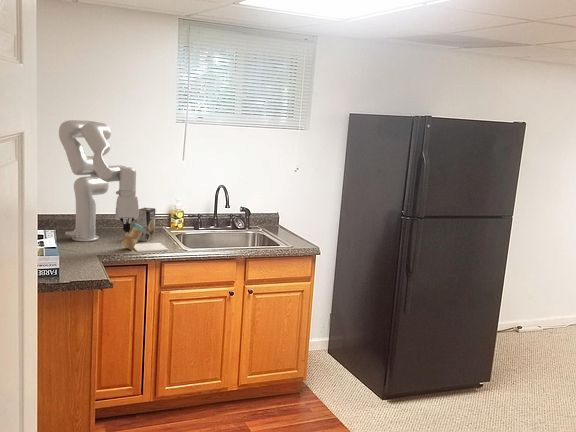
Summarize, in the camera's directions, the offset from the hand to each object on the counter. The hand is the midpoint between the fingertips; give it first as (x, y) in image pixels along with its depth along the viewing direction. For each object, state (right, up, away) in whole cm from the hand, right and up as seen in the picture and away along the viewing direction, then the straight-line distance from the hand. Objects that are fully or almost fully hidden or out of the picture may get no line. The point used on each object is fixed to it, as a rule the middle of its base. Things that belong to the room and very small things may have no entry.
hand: (126, 231), depth 281 cm
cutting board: (+9, -8, +7) cm, 14 cm away
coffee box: (+3, -5, +25) cm, 26 cm away
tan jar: (-1, -7, +1) cm, 8 cm away
